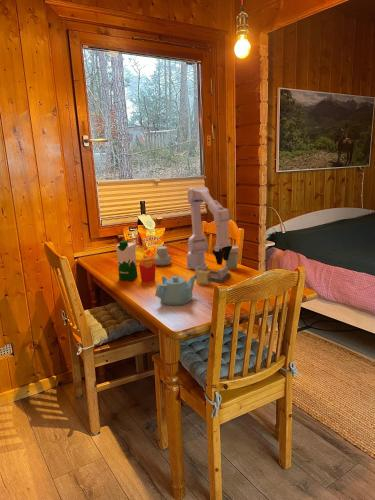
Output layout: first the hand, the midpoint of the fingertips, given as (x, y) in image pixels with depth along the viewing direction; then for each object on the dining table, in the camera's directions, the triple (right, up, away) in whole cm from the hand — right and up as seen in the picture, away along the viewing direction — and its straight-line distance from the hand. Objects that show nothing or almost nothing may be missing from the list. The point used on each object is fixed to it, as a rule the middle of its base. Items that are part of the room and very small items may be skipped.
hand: (222, 262), depth 176 cm
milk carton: (-47, -9, +12) cm, 50 cm away
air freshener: (-31, -3, +35) cm, 47 cm away
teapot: (-22, -16, -18) cm, 33 cm away
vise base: (-5, -8, +9) cm, 13 cm away
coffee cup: (+7, -4, +23) cm, 24 cm away
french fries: (-36, -10, +8) cm, 39 cm away
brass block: (-9, -10, +1) cm, 14 cm away
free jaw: (+1, -7, +6) cm, 9 cm away
